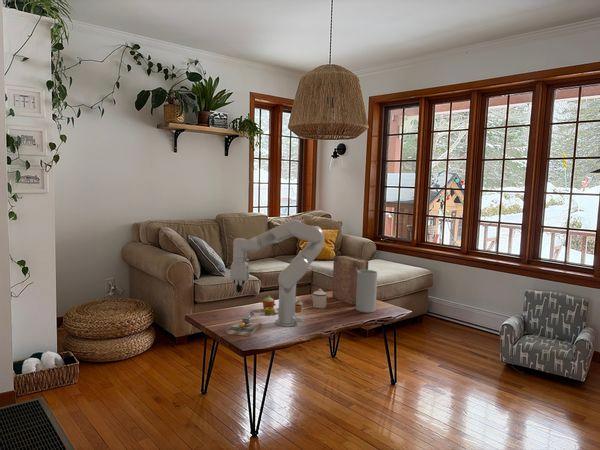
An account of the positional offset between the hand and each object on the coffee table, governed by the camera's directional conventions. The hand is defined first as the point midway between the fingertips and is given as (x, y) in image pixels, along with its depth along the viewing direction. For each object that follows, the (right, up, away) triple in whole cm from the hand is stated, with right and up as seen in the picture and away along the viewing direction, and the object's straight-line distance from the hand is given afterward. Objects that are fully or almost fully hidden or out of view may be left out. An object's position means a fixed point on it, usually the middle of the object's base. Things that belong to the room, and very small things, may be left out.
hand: (239, 291), depth 263 cm
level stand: (+4, -19, -13) cm, 23 cm away
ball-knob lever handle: (+5, -16, -8) cm, 19 cm away
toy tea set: (+23, -16, +25) cm, 38 cm away
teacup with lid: (+46, -15, +39) cm, 62 cm away
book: (+68, -15, +54) cm, 88 cm away
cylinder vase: (+76, -17, +33) cm, 85 cm away
